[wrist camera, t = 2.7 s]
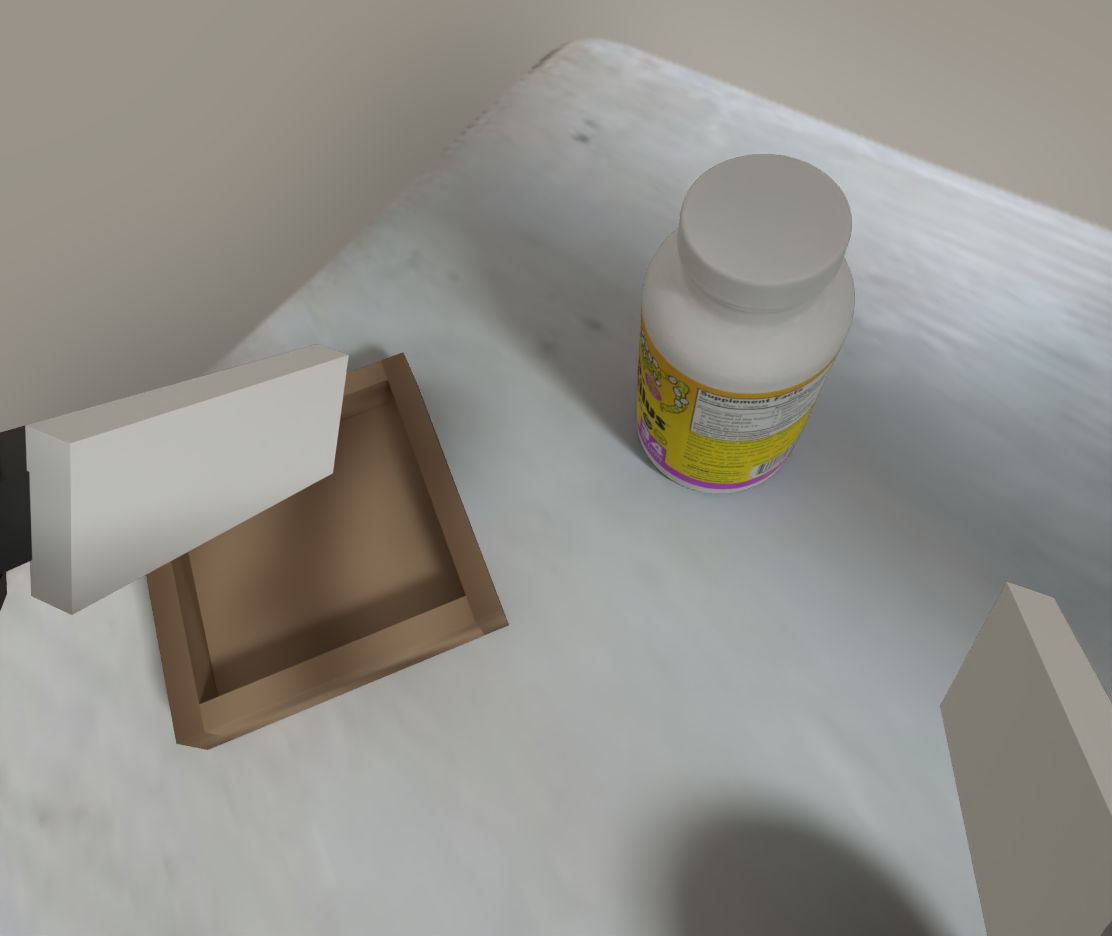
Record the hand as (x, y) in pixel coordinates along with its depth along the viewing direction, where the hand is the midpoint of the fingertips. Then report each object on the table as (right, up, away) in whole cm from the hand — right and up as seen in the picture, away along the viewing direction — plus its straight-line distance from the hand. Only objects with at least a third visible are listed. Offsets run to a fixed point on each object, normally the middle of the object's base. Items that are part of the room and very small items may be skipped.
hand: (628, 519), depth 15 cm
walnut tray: (-11, -2, +17) cm, 20 cm away
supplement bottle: (+5, +3, +18) cm, 19 cm away
